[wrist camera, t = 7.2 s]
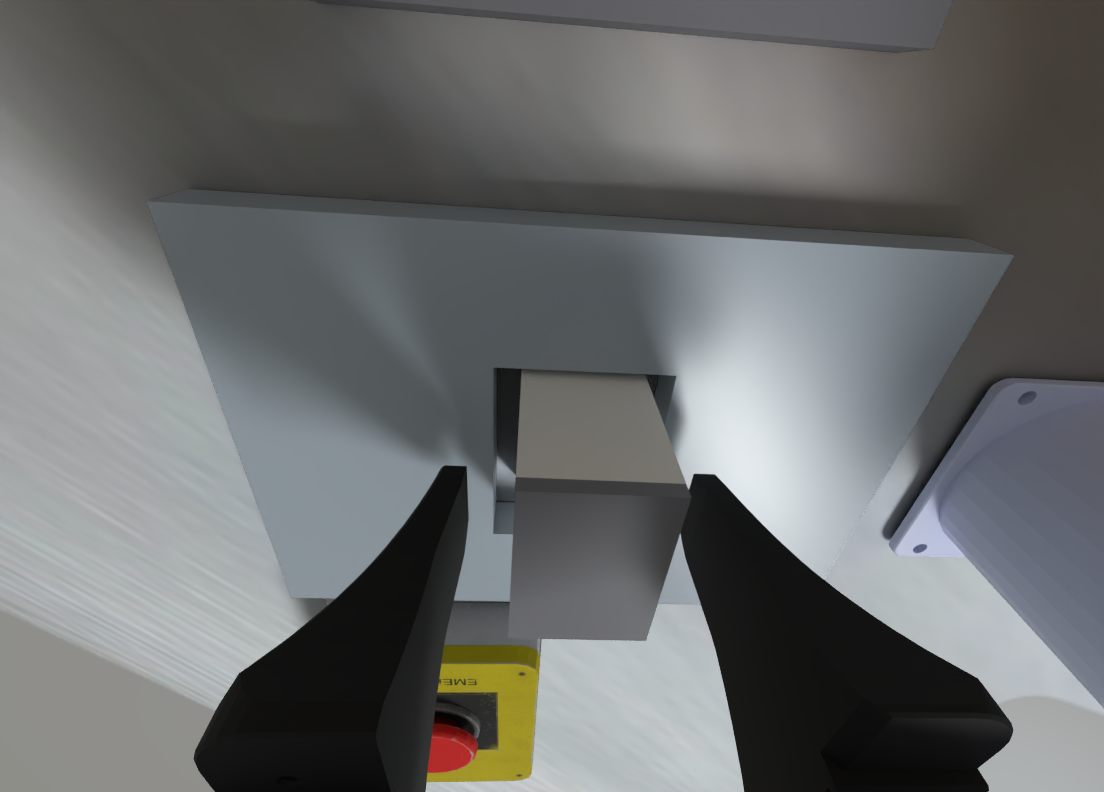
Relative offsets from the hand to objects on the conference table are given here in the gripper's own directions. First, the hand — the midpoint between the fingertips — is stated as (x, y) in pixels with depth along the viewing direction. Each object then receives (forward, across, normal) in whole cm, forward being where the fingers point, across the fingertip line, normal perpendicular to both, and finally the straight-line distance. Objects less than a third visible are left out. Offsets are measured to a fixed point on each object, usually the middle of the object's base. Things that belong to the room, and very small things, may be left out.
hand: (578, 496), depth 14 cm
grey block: (+3, 0, 0) cm, 3 cm away
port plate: (+3, 0, 0) cm, 3 cm away
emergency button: (+4, +5, +15) cm, 16 cm away
